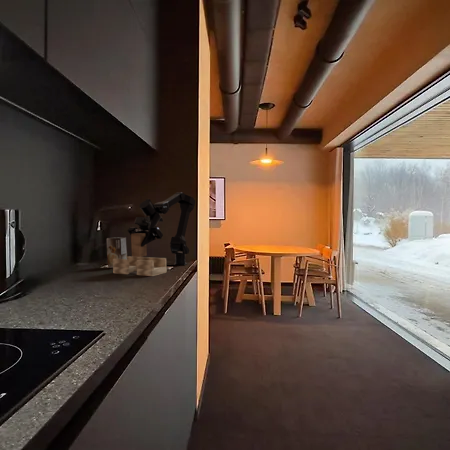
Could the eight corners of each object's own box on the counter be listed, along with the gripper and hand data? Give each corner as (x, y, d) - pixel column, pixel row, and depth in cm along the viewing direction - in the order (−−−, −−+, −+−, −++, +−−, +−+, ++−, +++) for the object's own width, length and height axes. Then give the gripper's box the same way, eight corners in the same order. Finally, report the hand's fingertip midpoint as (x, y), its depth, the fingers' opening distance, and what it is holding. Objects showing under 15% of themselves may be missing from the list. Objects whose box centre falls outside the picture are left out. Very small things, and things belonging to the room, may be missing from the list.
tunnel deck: (113, 273, 194) (112, 258, 194) (128, 269, 204) (128, 256, 204) (152, 276, 183) (152, 261, 183) (166, 272, 194) (166, 258, 193)
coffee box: (128, 266, 217) (127, 237, 216) (121, 268, 211) (121, 238, 210) (113, 266, 220) (112, 237, 219) (106, 267, 213) (106, 238, 213)
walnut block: (138, 255, 196) (138, 233, 196) (146, 255, 194) (146, 233, 193) (131, 256, 192) (131, 233, 191) (139, 256, 189) (139, 234, 189)
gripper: (129, 211, 200) (114, 234, 191) (158, 211, 191) (143, 235, 181) (140, 226, 207) (126, 249, 198) (169, 226, 198) (155, 250, 189)
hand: (137, 245), depth 191 cm, fingers closed on walnut block, 5 cm apart
